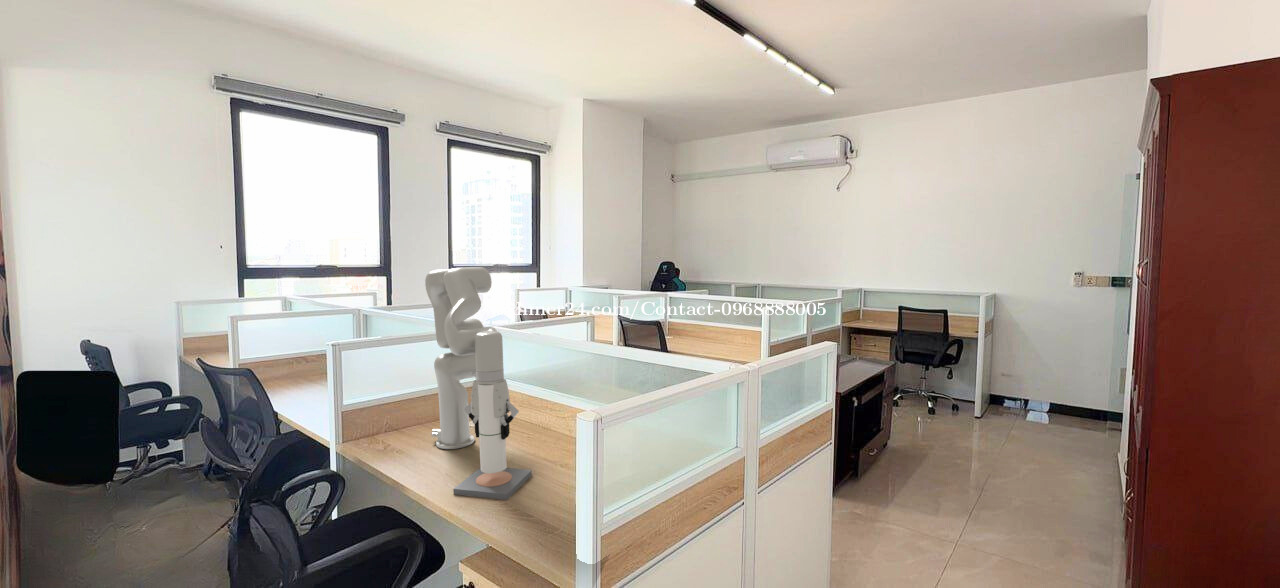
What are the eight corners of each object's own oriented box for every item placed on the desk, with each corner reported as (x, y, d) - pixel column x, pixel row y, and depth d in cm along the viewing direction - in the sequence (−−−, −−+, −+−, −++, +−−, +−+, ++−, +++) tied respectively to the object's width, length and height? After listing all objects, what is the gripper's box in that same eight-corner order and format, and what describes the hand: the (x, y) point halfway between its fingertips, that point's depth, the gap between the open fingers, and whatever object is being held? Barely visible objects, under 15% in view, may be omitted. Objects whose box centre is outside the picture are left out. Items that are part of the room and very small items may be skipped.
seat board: (453, 494, 151) (453, 488, 151) (482, 470, 167) (482, 464, 167) (506, 499, 148) (506, 493, 148) (531, 475, 163) (531, 469, 163)
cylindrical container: (511, 464, 159) (508, 379, 157) (497, 474, 152) (493, 386, 150) (490, 461, 161) (486, 378, 159) (475, 471, 155) (471, 384, 152)
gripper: (454, 377, 153) (457, 439, 154) (512, 380, 149) (514, 443, 150) (469, 371, 160) (471, 430, 162) (524, 373, 156) (526, 434, 158)
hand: (492, 436), depth 156 cm, fingers closed on cylindrical container, 7 cm apart
